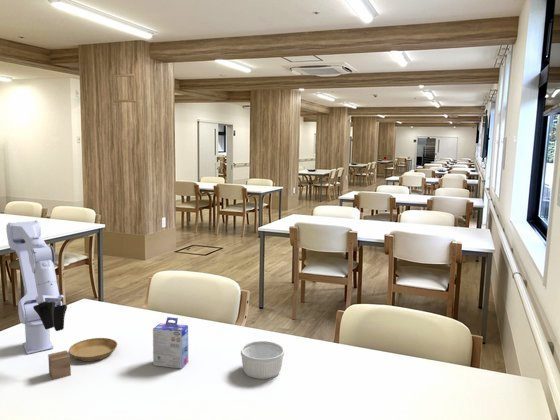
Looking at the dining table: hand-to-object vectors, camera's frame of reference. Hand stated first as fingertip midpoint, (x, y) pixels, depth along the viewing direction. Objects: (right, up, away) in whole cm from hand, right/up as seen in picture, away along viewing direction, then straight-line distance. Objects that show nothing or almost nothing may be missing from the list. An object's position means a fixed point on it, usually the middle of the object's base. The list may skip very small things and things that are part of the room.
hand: (54, 329), depth 138 cm
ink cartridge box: (+32, -13, +10) cm, 36 cm away
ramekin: (+61, -14, +6) cm, 63 cm away
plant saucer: (+5, -12, +16) cm, 21 cm away
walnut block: (+1, -14, +2) cm, 14 cm away
